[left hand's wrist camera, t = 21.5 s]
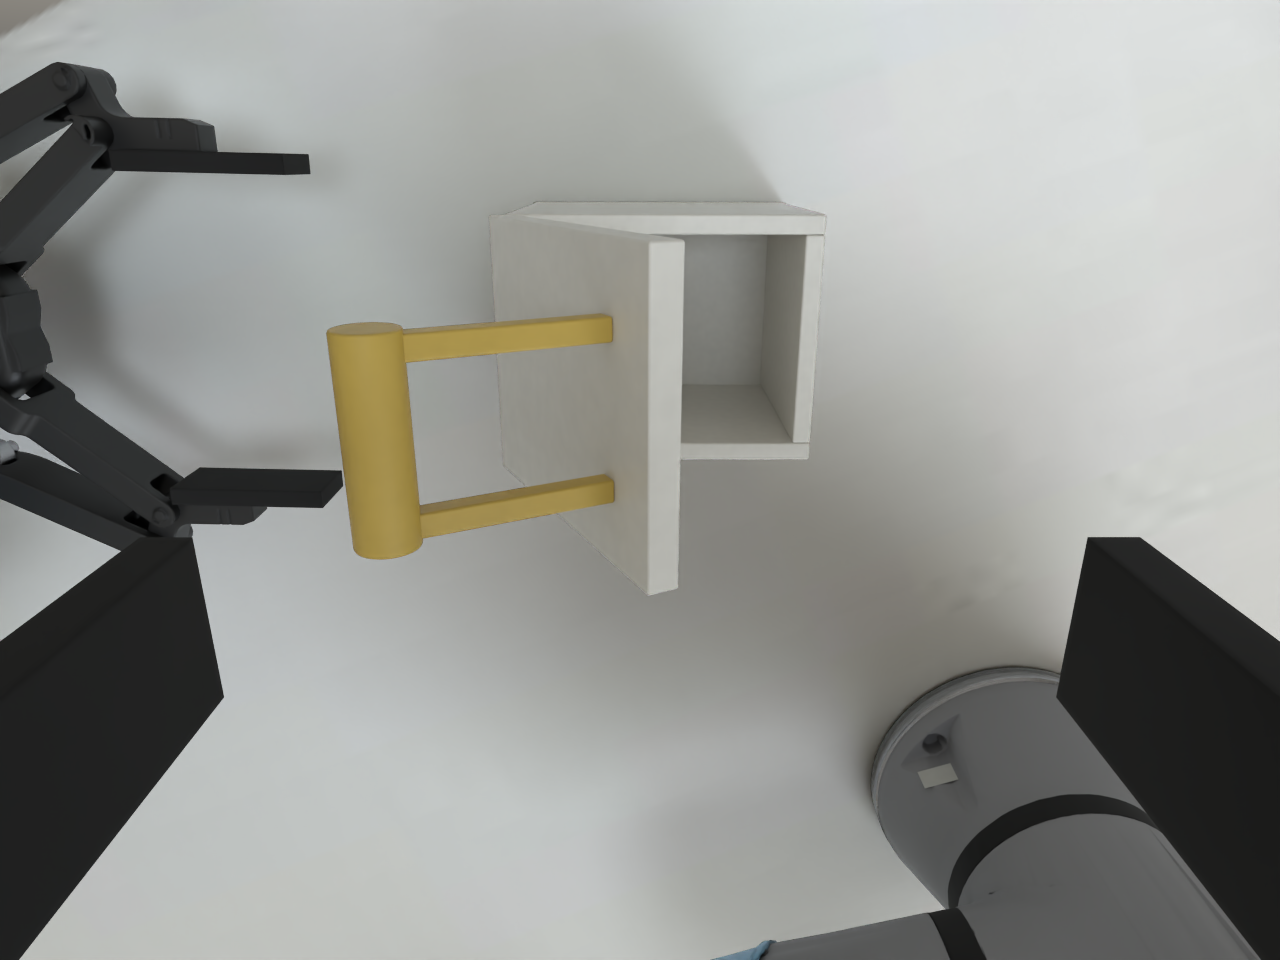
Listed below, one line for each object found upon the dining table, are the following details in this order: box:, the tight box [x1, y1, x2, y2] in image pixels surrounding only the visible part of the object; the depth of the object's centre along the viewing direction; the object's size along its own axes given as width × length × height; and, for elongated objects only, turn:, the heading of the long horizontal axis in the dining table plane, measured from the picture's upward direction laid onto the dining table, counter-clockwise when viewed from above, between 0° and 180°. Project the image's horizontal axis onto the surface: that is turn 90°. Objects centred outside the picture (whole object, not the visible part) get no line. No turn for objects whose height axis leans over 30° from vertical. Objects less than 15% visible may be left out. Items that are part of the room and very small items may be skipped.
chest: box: [505, 202, 827, 460], centre depth 37 cm, size 12×10×10 cm
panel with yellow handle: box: [326, 215, 685, 596], centre depth 25 cm, size 12×9×8 cm
